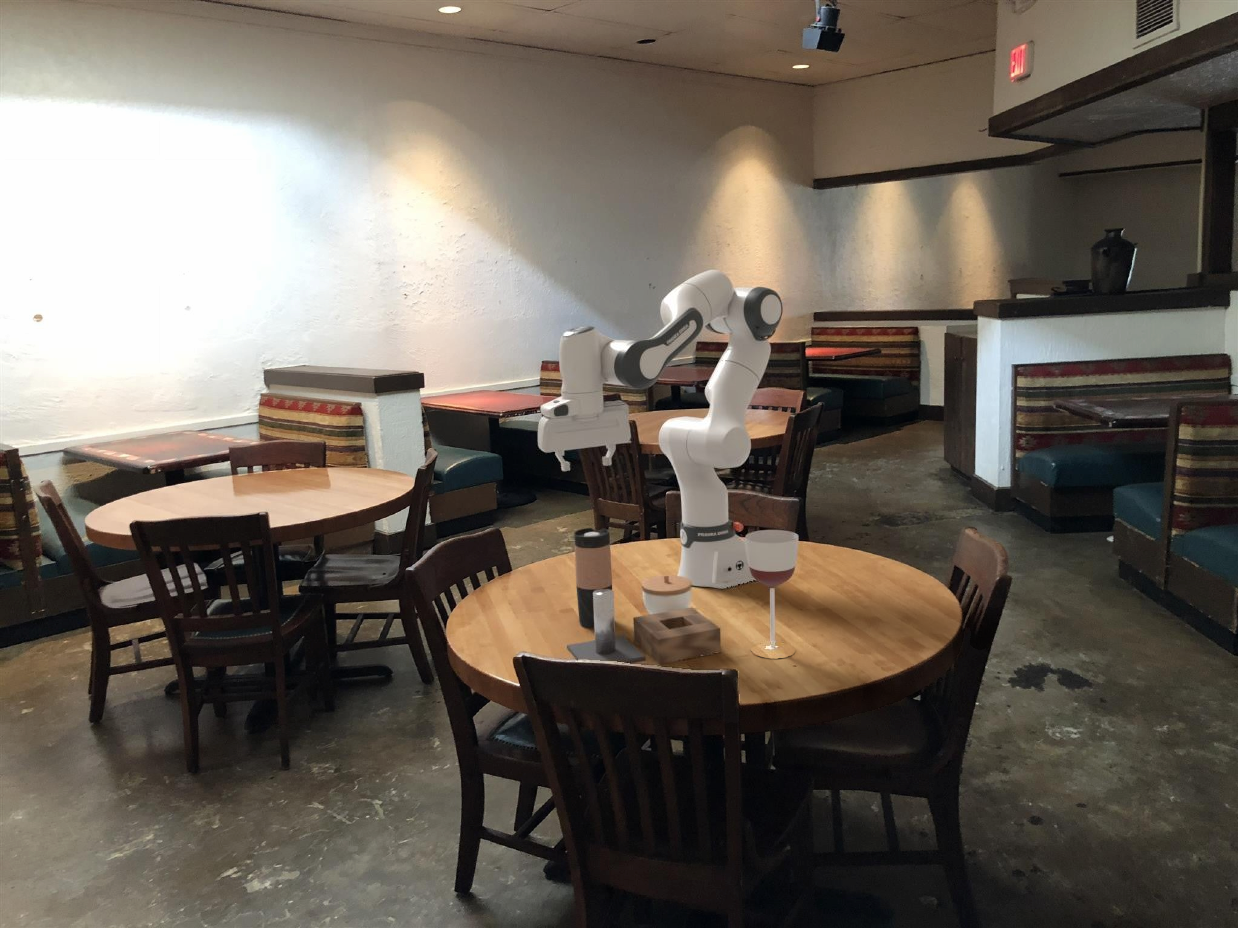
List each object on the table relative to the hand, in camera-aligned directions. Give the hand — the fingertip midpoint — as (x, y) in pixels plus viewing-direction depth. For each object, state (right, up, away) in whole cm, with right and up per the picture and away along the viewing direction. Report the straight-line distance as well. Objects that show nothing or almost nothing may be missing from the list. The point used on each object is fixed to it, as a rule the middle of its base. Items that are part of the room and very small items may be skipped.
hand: (586, 467), depth 201 cm
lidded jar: (+17, -33, +1) cm, 37 cm away
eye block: (+18, -35, -16) cm, 43 cm away
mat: (+4, -36, -18) cm, 41 cm away
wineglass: (+37, -36, -20) cm, 55 cm away
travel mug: (+2, -33, -1) cm, 33 cm away
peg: (+4, -36, -18) cm, 40 cm away
